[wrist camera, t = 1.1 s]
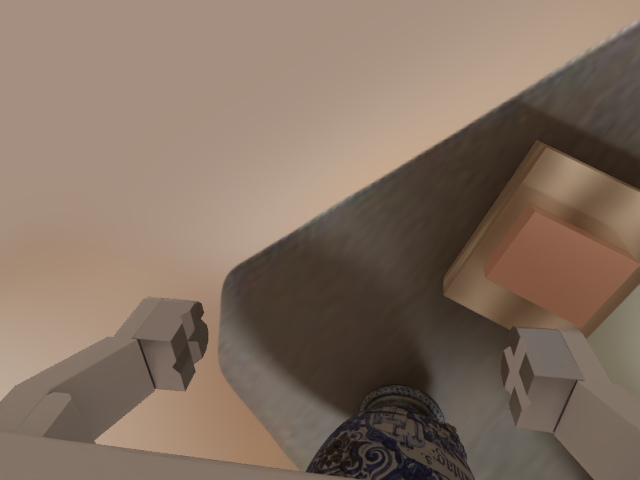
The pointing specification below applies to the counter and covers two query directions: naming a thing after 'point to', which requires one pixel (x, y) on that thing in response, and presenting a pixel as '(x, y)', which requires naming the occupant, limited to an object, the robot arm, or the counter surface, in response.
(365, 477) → the decorative vase
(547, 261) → the tile
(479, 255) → the tan flat block
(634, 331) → the mat
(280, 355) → the counter surface
